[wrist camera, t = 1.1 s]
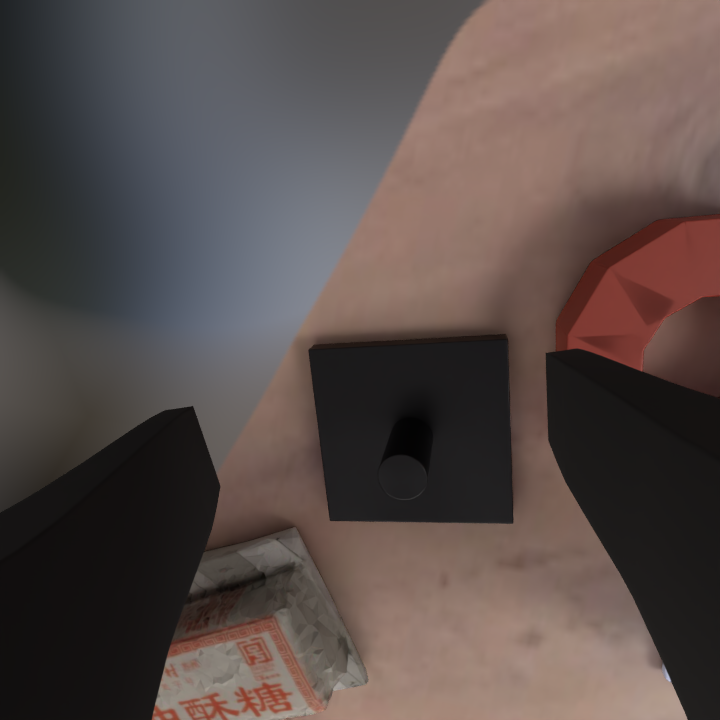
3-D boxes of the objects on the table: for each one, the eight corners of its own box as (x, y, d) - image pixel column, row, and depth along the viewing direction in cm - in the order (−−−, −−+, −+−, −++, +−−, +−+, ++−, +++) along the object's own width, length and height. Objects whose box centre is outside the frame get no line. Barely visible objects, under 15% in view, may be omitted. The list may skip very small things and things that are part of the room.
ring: (854, 201, 20) (912, 200, 18) (820, 462, 23) (867, 495, 20) (554, 229, 23) (566, 231, 20) (556, 464, 25) (567, 493, 23)
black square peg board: (506, 333, 24) (516, 364, 19) (511, 513, 26) (522, 579, 22) (313, 344, 26) (279, 374, 21) (334, 510, 28) (307, 571, 23)
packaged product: (267, 576, 24) (356, 747, 26) (298, 517, 29) (372, 666, 30) (-18, 656, 29) (74, 795, 31) (48, 595, 34) (124, 719, 35)
